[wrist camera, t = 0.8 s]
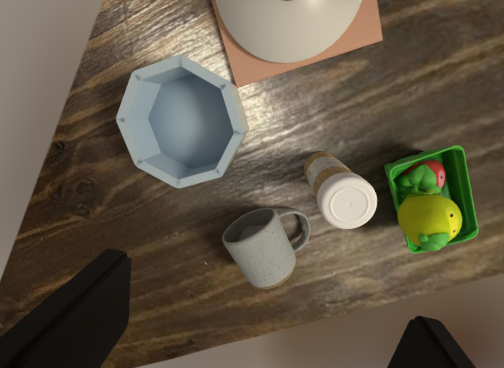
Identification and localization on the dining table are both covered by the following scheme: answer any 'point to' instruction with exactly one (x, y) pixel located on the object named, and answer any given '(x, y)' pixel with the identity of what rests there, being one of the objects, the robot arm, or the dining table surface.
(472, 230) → the fruit basket
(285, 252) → the ceramic mug
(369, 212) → the spice bottle
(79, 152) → the dining table surface
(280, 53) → the lid
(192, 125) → the bowl
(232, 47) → the mat
